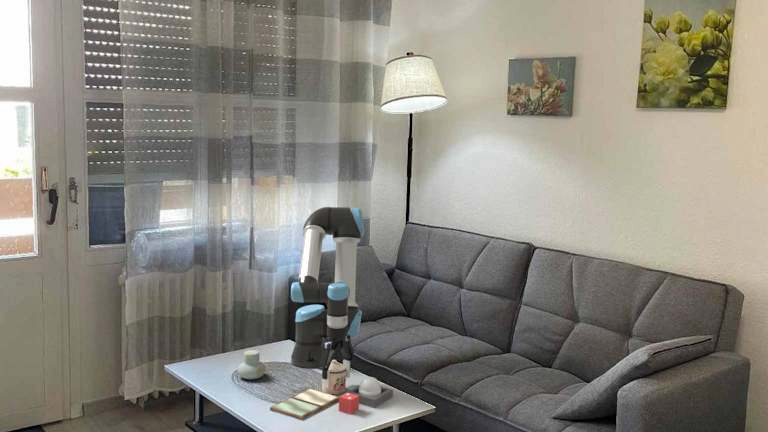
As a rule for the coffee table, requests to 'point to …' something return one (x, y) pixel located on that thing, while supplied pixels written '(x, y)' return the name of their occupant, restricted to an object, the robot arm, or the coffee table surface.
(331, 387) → the teacup with lid
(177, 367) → the coffee table surface
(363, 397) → the button bezel
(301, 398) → the wooden picture frame
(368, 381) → the dome button
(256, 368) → the air freshener
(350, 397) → the red die
